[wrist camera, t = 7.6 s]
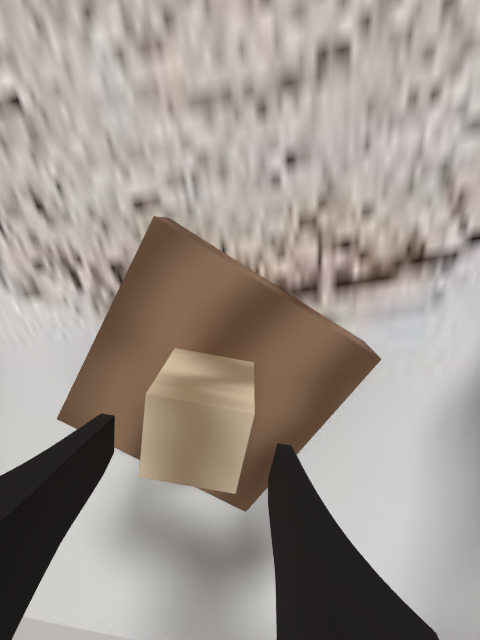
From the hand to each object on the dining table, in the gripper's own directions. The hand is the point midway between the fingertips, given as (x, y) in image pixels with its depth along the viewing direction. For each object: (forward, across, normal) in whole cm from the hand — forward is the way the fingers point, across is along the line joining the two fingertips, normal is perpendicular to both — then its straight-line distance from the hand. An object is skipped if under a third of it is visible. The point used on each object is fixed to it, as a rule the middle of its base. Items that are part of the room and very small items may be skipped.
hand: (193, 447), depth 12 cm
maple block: (+4, 0, 0) cm, 4 cm away
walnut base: (+7, 0, 0) cm, 7 cm away
